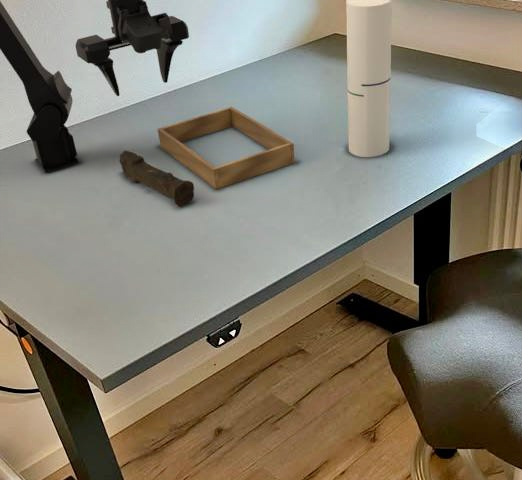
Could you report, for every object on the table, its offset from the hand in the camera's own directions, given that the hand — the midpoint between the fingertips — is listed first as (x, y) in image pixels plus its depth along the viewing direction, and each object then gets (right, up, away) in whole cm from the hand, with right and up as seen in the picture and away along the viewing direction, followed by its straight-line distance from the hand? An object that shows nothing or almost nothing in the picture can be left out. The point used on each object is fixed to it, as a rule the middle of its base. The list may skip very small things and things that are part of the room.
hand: (141, 88), depth 140 cm
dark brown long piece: (+2, -19, -5) cm, 20 cm away
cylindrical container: (+40, -10, +1) cm, 42 cm away
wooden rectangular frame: (+15, -11, +4) cm, 18 cm away
